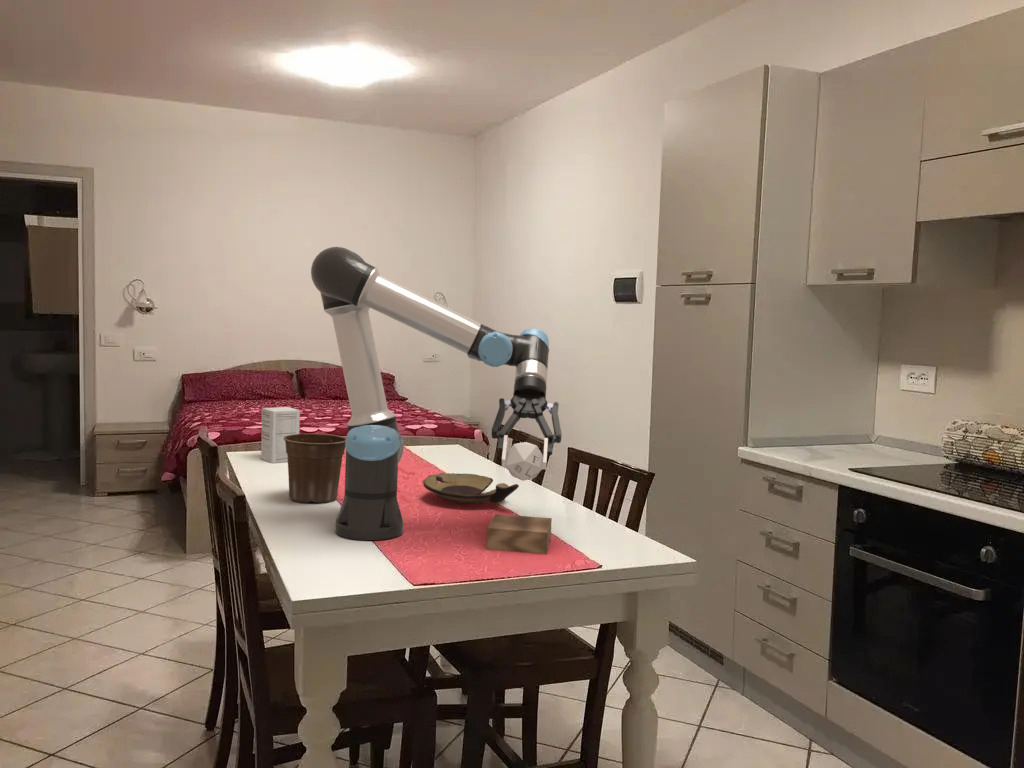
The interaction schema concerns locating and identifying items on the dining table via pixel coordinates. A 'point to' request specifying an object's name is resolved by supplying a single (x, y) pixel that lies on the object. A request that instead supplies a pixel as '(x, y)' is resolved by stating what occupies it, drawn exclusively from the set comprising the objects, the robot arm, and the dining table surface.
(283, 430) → the supplement box
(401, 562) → the dining table surface
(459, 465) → the dining table surface
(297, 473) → the plant pot
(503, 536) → the walnut block
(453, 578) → the dining table surface
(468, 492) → the oil lamp
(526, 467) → the die
